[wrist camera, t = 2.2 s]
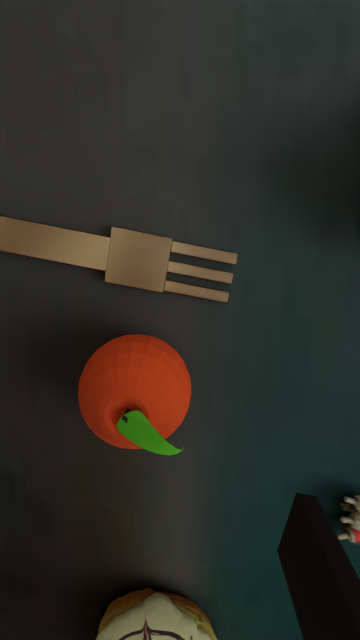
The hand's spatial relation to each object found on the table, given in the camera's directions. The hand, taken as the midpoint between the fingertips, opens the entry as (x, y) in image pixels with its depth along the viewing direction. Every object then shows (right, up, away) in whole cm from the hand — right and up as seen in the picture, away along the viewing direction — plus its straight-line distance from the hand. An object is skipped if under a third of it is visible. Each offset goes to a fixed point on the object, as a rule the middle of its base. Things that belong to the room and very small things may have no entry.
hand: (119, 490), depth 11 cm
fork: (-5, +11, +9) cm, 16 cm away
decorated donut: (0, -21, +16) cm, 27 cm away
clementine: (0, +2, +11) cm, 11 cm away
